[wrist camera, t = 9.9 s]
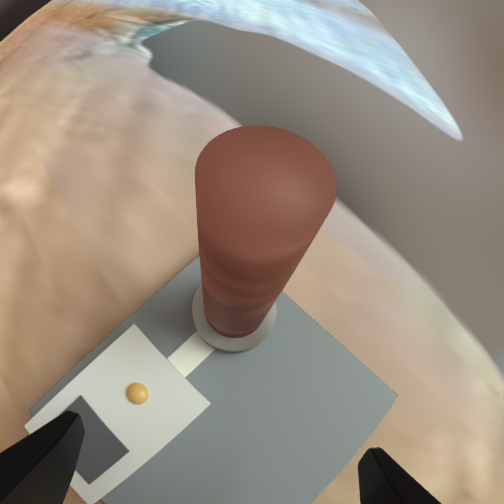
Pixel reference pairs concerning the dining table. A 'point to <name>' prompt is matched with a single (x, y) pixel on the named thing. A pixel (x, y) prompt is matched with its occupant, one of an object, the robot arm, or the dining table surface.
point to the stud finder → (123, 411)
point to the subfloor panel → (250, 408)
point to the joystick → (254, 228)
